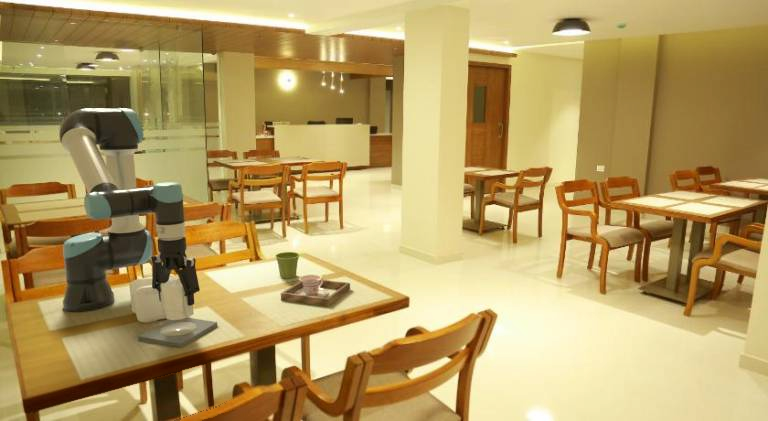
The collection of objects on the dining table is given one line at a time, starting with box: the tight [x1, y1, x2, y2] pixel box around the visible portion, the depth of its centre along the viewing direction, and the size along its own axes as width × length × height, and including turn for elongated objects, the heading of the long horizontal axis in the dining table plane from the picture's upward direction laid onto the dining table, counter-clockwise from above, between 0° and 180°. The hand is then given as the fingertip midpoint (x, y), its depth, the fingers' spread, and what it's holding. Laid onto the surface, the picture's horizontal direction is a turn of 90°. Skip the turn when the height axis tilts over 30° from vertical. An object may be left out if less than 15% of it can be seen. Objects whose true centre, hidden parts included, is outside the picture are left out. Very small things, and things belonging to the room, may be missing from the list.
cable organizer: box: [129, 273, 178, 323], centre depth 169 cm, size 15×11×12 cm
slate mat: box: [137, 317, 218, 349], centre depth 157 cm, size 15×16×1 cm
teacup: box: [294, 274, 329, 298], centre depth 189 cm, size 12×12×6 cm
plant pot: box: [274, 251, 301, 280], centre depth 209 cm, size 9×9×9 cm
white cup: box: [160, 278, 186, 321], centre depth 155 cm, size 8×8×10 cm
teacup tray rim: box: [280, 279, 351, 307], centre depth 189 cm, size 18×18×2 cm
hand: (177, 313), depth 156 cm, fingers closed on white cup, 8 cm apart
